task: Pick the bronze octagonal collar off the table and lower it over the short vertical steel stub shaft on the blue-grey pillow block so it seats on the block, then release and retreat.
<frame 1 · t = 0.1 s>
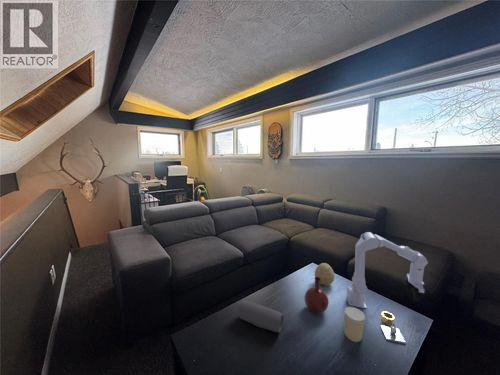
hand: (413, 296, 111), 10 cm above the table, fingers open, 7 cm apart
round-bottom flask: (315, 310, 114), on the table
fossilized egg: (323, 284, 138), on the table
collar: (387, 321, 106), on the table
shaft block: (392, 335, 98), on the table
coffee cup: (352, 335, 98), on the table
bluetooth speaker: (260, 324, 104), on the table
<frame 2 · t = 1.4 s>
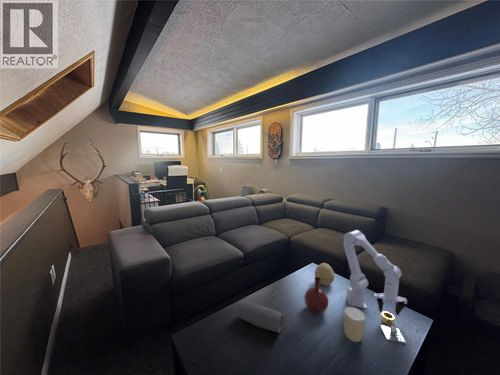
hand: (388, 312, 106), 5 cm above the table, fingers open, 7 cm apart
nothing on the table moved.
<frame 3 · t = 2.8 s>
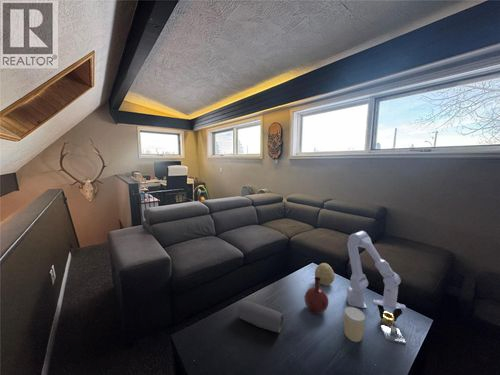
hand: (387, 318, 106), 1 cm above the table, fingers closed on collar, 5 cm apart
collar: (387, 321, 106), on the table, touching gripper
everything else where it was.
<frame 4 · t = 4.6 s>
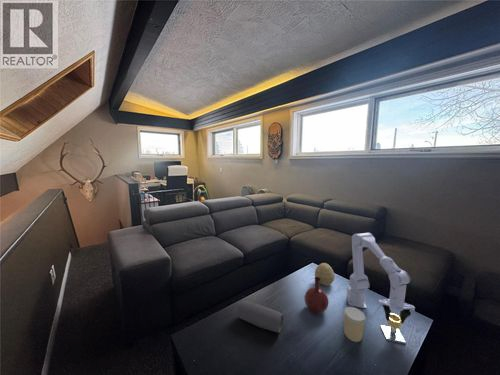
hand: (394, 320, 97), 8 cm above the table, fingers closed on collar, 5 cm apart
collar: (393, 323, 97), point 6 cm above the table, touching gripper
everything else where it was.
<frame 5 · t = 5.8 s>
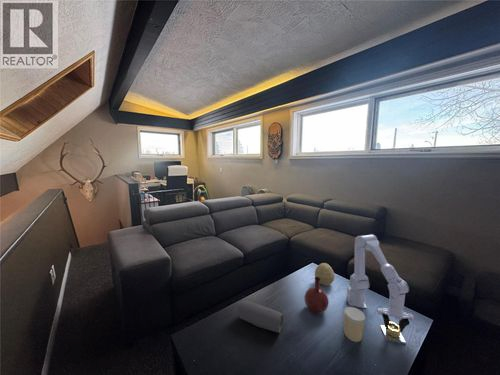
hand: (393, 329, 98), 3 cm above the table, fingers closed on collar, 5 cm apart
collar: (392, 332, 98), point 1 cm above the table, touching gripper
everything else where it was.
when the fingers open (3 cm above the table, at t = 6.5 s): collar stays where it is, resting on shaft block.
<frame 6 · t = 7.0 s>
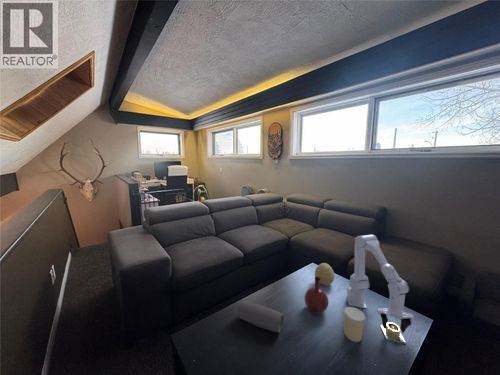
hand: (393, 329, 98), 3 cm above the table, fingers open, 7 cm apart
collar: (392, 332, 98), point 1 cm above the table, touching shaft block
everything else where it was.
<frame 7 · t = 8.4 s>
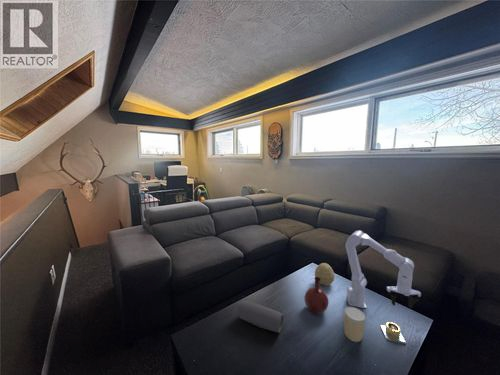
hand: (401, 305, 104), 10 cm above the table, fingers open, 7 cm apart
nothing on the table moved.
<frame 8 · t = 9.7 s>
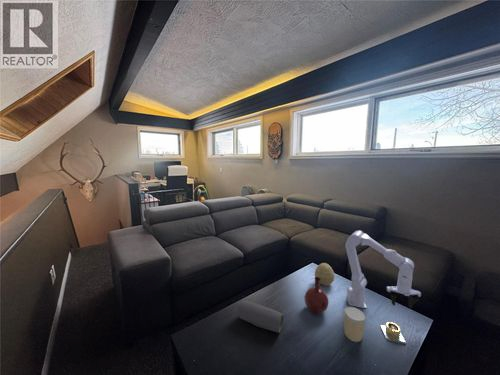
hand: (401, 305, 104), 10 cm above the table, fingers open, 7 cm apart
nothing on the table moved.
at the end: collar 0.2 cm off-centre on the shaft block, point 1.0 cm above the shaft block's base; collar tilted 0°; the gripper is holding nothing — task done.
